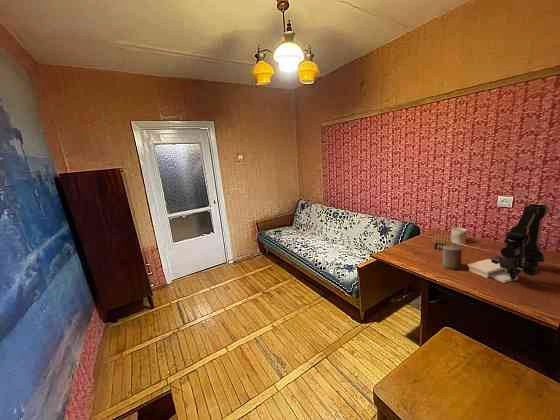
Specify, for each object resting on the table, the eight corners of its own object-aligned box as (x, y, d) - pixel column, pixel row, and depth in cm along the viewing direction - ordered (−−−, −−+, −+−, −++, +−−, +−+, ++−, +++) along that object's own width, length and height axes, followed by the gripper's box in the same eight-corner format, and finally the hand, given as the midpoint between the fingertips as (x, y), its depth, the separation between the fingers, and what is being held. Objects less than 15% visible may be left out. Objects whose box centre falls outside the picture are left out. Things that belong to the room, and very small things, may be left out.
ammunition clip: (451, 250, 172) (452, 235, 169) (451, 251, 170) (452, 235, 168) (434, 248, 178) (434, 233, 175) (434, 249, 176) (434, 234, 174)
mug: (447, 240, 190) (447, 228, 188) (460, 239, 191) (461, 226, 189) (458, 245, 179) (458, 231, 177) (471, 243, 181) (472, 229, 178)
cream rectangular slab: (487, 265, 145) (488, 258, 144) (508, 272, 134) (509, 265, 134) (467, 270, 141) (467, 264, 140) (487, 278, 131) (487, 271, 130)
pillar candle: (464, 269, 143) (466, 246, 141) (451, 271, 142) (452, 248, 139) (451, 263, 153) (452, 241, 150) (438, 265, 151) (439, 243, 149)
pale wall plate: (489, 269, 141) (489, 266, 141) (517, 280, 128) (518, 276, 127) (477, 272, 139) (477, 269, 138) (504, 283, 125) (504, 280, 125)
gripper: (485, 250, 130) (483, 275, 133) (527, 262, 112) (524, 291, 115) (499, 246, 132) (497, 271, 135) (543, 258, 115) (539, 286, 118)
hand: (512, 279), depth 126 cm, fingers closed
